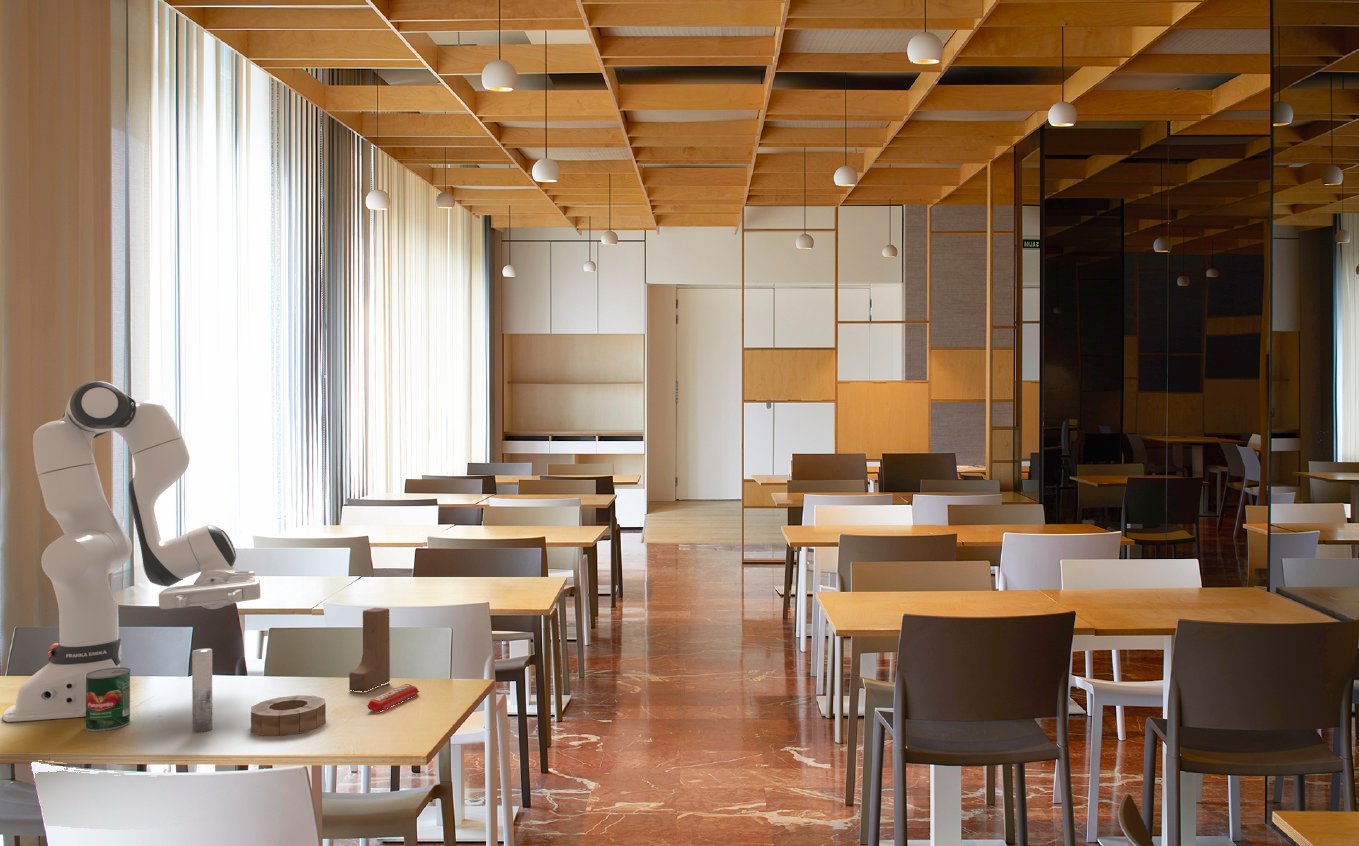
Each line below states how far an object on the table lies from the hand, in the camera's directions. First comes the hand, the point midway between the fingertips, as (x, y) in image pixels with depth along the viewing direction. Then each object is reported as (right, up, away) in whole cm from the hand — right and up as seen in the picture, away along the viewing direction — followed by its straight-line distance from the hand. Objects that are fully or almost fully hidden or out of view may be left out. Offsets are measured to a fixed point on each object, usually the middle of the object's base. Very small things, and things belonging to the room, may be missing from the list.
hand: (207, 601), depth 199 cm
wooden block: (+29, -24, +18) cm, 42 cm away
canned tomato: (-16, -24, -9) cm, 30 cm away
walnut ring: (+22, -24, -9) cm, 33 cm away
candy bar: (+39, -24, +5) cm, 46 cm away
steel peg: (+5, -24, -12) cm, 27 cm away
